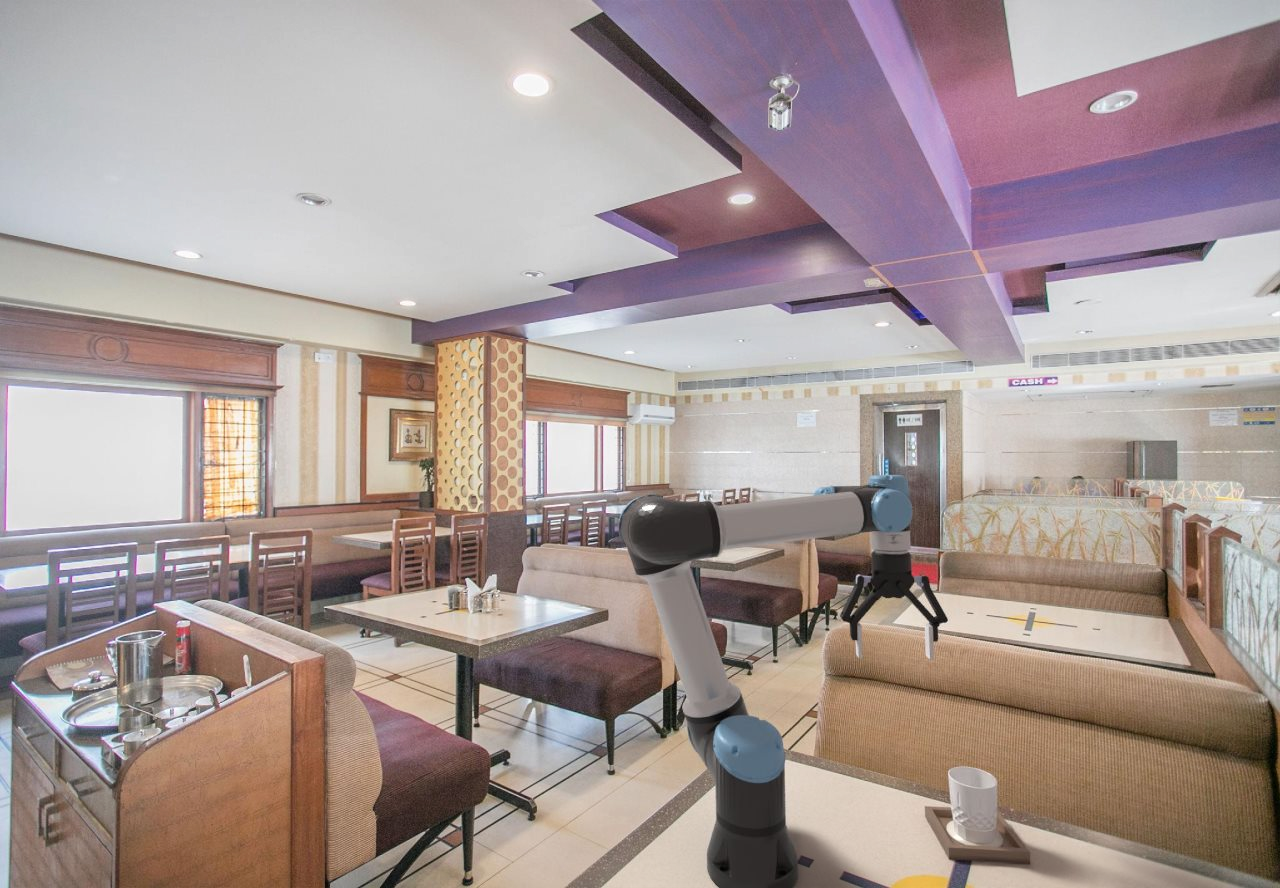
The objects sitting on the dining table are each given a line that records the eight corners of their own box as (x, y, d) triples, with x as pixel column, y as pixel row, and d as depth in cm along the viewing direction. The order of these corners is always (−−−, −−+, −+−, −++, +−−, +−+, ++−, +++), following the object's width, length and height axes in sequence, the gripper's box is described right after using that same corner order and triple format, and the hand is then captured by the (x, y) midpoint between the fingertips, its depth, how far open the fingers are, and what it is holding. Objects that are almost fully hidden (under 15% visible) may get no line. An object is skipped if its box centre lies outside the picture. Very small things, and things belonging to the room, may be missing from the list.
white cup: (956, 843, 111) (954, 786, 111) (945, 818, 118) (943, 764, 118) (1006, 848, 109) (1004, 790, 109) (991, 822, 117) (989, 768, 117)
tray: (949, 859, 108) (948, 847, 108) (925, 816, 121) (924, 806, 121) (1030, 864, 106) (1030, 852, 106) (997, 820, 119) (997, 809, 119)
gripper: (830, 554, 126) (833, 661, 125) (962, 553, 122) (966, 664, 122) (824, 548, 133) (827, 650, 132) (949, 548, 130) (952, 652, 129)
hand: (894, 657), depth 127 cm, fingers open, 13 cm apart
